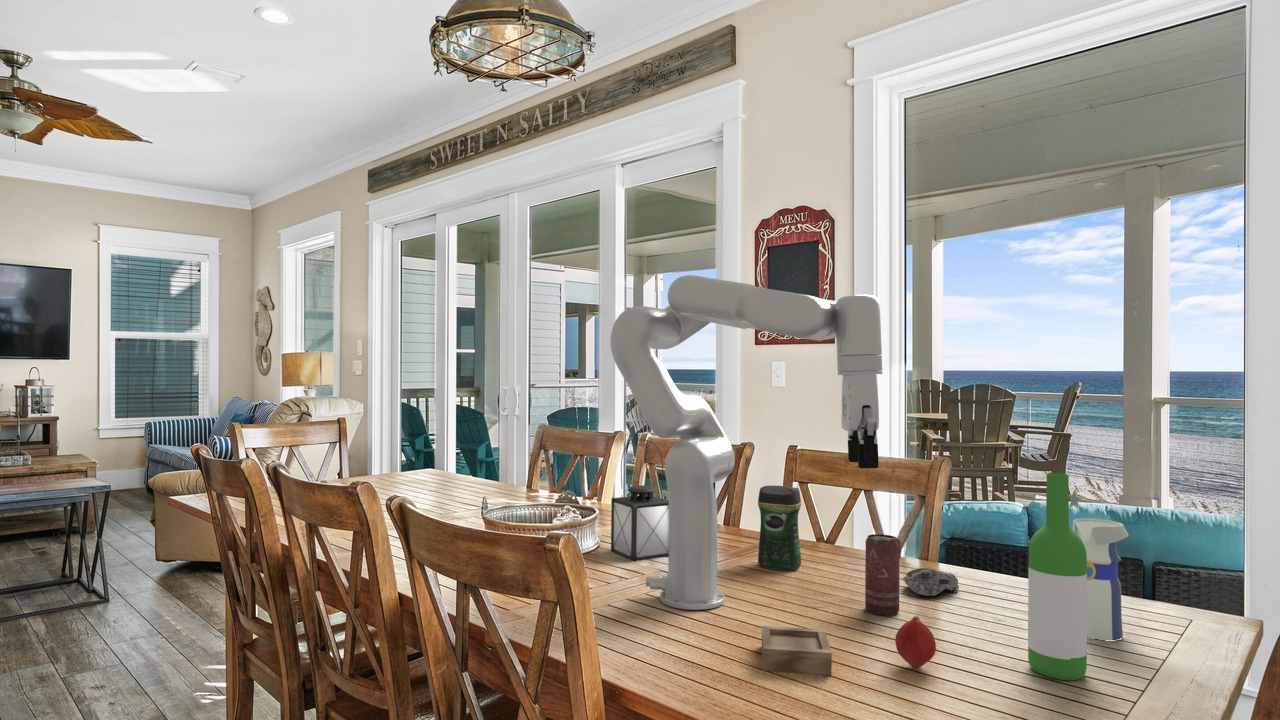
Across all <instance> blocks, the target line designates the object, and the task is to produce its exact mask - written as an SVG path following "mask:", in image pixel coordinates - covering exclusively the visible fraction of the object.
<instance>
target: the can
mask: <svg viewBox="0 0 1280 720" xmlns="http://www.w3.org/2000/svg"><path fill="white" fill-rule="evenodd" d="M901 556H902V541H901V540H900V538H898V537H896V536H894V535H888V534H881V533H879V534H878V533H877V534H876V533H875V534H869V535H867V537H866V539H865V560H864V561H865V571H864V572H865V573H864V574H865V575H864V576H865V578H864V579H865V582H864V583H865V584H864V586H865V588H864V589H865V591H864V593H865V594H864V595H865V597H864V598H865V599H864V601H865V603H864V606H865V609H866V611H867V612H868V613H870V614H872V615H876V616H881V617H882V616H883V617H892V616H896V615H898V612H900V585H901V584H900V578H901V576H900V573H901V572H900V567H901V565H900V562H901V560H900V559H901Z"/></svg>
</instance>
